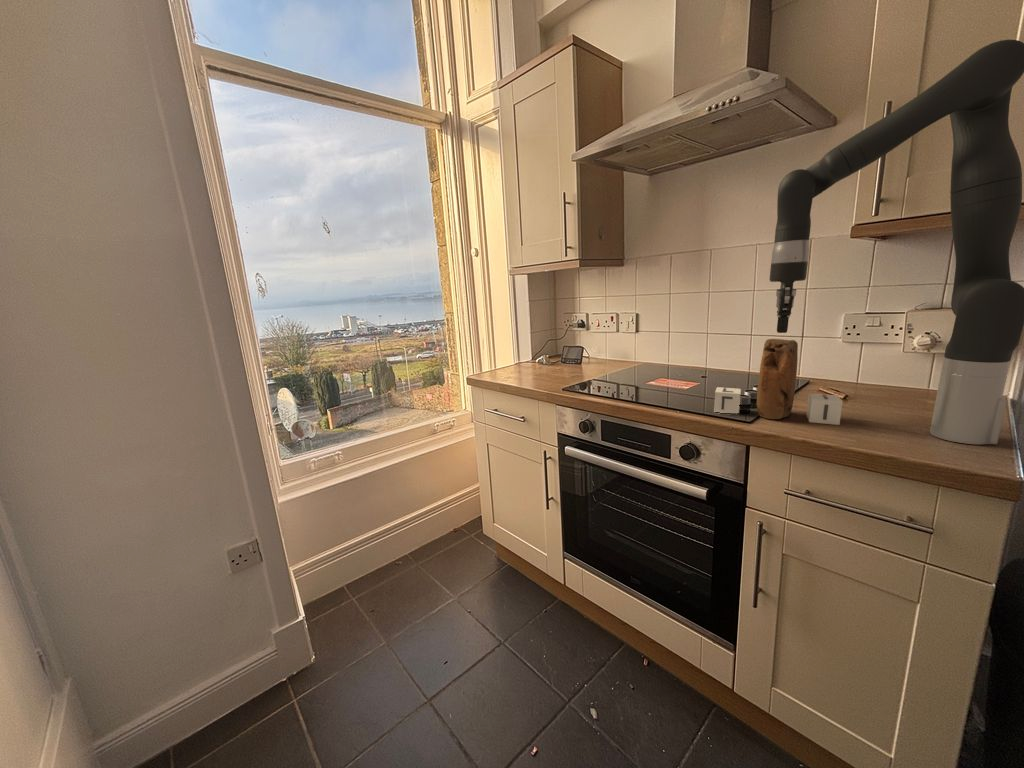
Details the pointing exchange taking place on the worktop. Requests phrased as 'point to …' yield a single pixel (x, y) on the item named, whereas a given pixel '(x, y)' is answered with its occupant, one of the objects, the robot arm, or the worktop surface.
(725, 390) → the cube seven
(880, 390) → the worktop surface
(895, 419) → the worktop surface
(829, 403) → the cube one
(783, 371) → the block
